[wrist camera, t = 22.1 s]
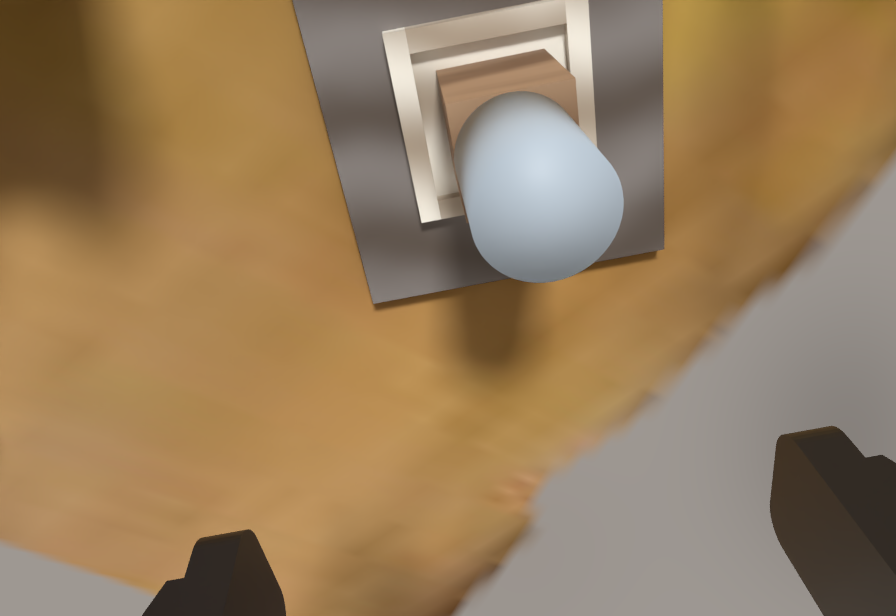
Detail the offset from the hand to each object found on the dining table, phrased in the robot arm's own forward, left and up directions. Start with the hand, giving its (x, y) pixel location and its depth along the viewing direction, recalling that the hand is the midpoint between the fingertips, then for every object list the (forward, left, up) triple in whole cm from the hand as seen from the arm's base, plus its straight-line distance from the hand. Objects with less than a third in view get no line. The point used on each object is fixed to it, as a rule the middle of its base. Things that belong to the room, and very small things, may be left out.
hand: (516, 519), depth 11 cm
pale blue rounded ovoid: (+1, +3, -19) cm, 19 cm away
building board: (+1, +3, -26) cm, 26 cm away
